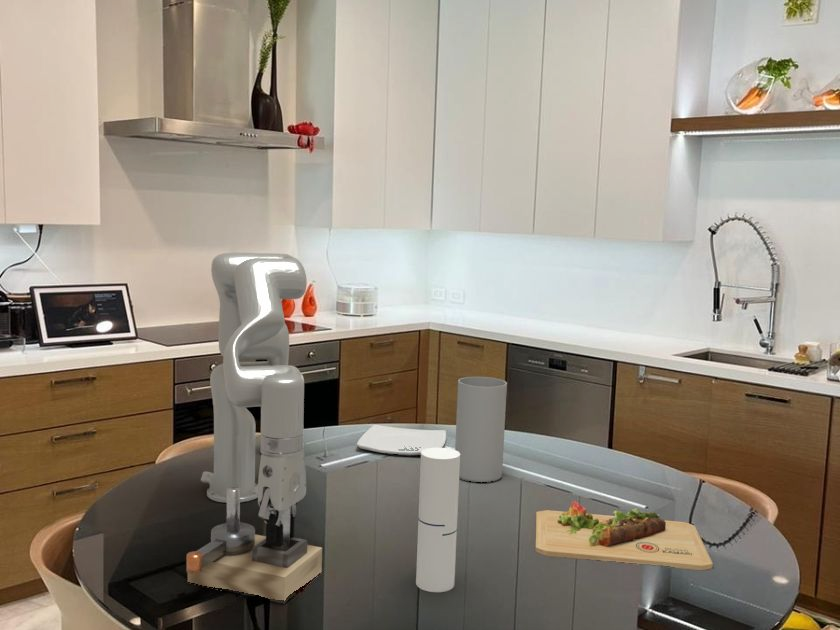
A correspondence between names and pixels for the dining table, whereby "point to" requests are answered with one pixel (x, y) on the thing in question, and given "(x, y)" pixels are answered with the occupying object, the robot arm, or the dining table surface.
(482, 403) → the cylinder vase
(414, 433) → the plate
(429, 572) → the cylindrical container
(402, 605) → the dining table surface
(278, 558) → the block
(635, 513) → the cutting board
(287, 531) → the key peg
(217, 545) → the grey crank lever
